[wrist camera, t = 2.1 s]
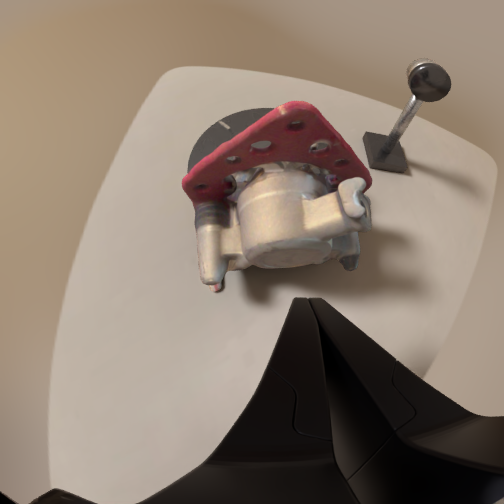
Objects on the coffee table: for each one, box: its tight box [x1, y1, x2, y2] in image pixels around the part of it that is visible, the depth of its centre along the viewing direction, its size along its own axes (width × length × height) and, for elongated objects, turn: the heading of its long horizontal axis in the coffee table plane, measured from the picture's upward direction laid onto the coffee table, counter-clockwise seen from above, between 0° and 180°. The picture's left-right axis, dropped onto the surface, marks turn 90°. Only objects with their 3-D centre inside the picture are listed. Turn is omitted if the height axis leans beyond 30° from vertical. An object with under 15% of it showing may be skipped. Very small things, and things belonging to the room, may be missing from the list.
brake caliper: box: [182, 101, 372, 292], centre depth 16 cm, size 11×11×12 cm
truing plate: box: [188, 108, 341, 175], centre depth 22 cm, size 14×14×1 cm
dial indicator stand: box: [363, 58, 451, 173], centre depth 18 cm, size 4×4×12 cm
